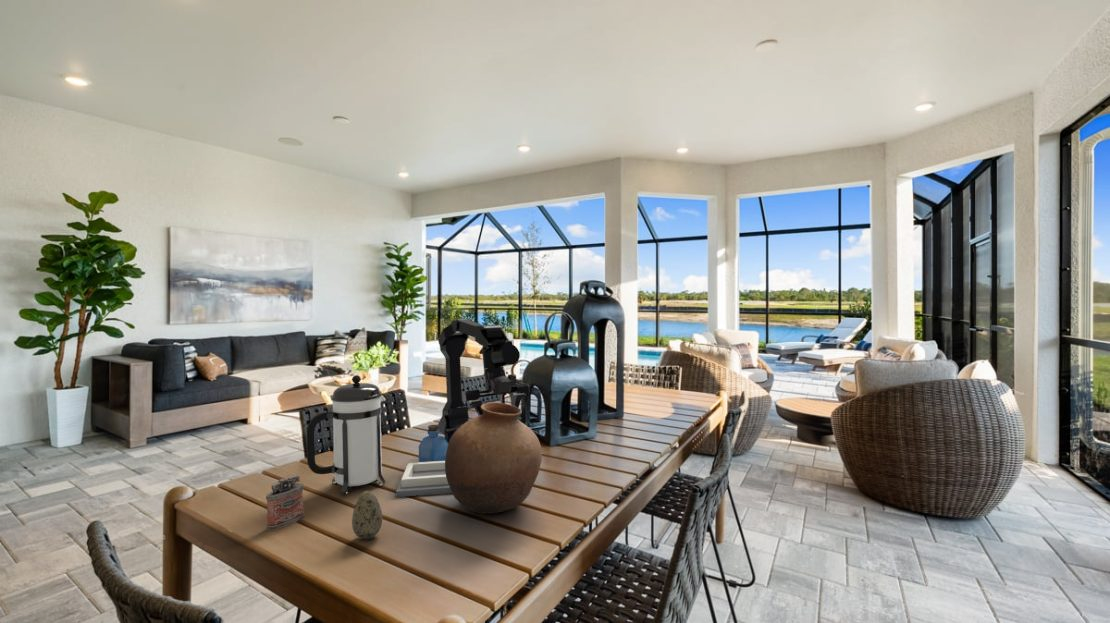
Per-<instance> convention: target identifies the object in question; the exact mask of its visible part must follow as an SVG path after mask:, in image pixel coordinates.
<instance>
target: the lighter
mask: <svg viewBox="0 0 1110 623" xmlns="http://www.w3.org/2000/svg"><path fill="white" fill-rule="evenodd" d="M300 481H301V478H300V475H298V474H297V475H293V476H290V477H287V478H280V479H279V480H278V481H277V482H274V483H271V489H272V490H271V492H269V493H267V494H266V495H265V498H266V505H267V506H266V510H267V513H266V514H267V524H266V530H268V531H275V530H279V529H281V528H284V527H287V526H290V525H293V524H294V523H297V522H299V521H300V519H301V520H303V519H304V518H305V512H304V492H303V490H304V484H302V483H298V482H300ZM295 483H297V484H295ZM303 517H304V518H303ZM302 518H303V519H302ZM298 520H299V521H298ZM289 524H290V525H289Z"/></svg>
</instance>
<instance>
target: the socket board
mask: <svg viewBox="0 0 1110 623" xmlns="http://www.w3.org/2000/svg"><path fill="white" fill-rule="evenodd" d="M442 494H452V492H451V489H450V487H449V484H448V481H447V478H446V472H445V461H434V462H419V461H418V462H408V463H407V465H406V467H405V470H404V472H403V474H402V476H401V479H400V481H399V483H398V485H397V488H396V490H395V497H396V498H403V497H415V496H416V495H418V496H429V495H442Z"/></svg>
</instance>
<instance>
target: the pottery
mask: <svg viewBox="0 0 1110 623" xmlns="http://www.w3.org/2000/svg"><path fill="white" fill-rule="evenodd" d="M481 410H482V411H483V414H482V415H480V416H478V415H477V416H475V417H473V418H471V419H469V421H467V422H466V423H464V424H463V425H462V426H461V427H459V428H458V429H457V430H456V431H455V433H454V434H453V435H452V437H451V439H450V441H449V444H448V447H447V452H446V457H445V472H446V478H447V481H448V484H449V487H450V489H451V492H452V493H451V494H452V496H454V498H455V500H456V501H457V502H458V503H459V504H460V505H461V506H463V507H465V508H467V509H468V510H470V511H472V512H475V513H479V514H498V513H501V512H505V511H509V510H512V509H514V508H516V507H518V506H520V505H521V504H523V502H525V500H526V499H528V496H529V495H530V493H531V492H532V490H533V486H534V484H535V482H536V480H537V478H538V476H539V473H540V470H541V464H542V457H543V454H542V453H543V452H542V445H541V443H540V440H539V438H538V437H537V434H536V433H535V432H534V431H533V430H532V429H531V428H530V427H529V426H528V425H526V424H525V423H524V422H522V421H520V420H519V419H518V417H520V416H521V414H522V409H521V408H520V407H519V408H517V407H516V406H512V404H508V403H502V402H494V401H493V402H492V401H491V402H490V401H489V402H487V403H486V402H485V403H482V406H481Z"/></svg>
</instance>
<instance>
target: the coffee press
mask: <svg viewBox="0 0 1110 623" xmlns="http://www.w3.org/2000/svg"><path fill="white" fill-rule="evenodd" d="M361 380H362V378H361V376H360V375H358V374H357V375H353V376H352V379H351V381H352V382H353V383H349V384H344V385H340V386H338V387H336V389H334V391H333V393H332V395H330V400H331V402H332V409H331V411H329V412H325V411H324V412H321V413H318V414H316V415H314V416H313V417H312V418H311V419H310V421H309V423H308V424H307V428H306V433H305V434H306V437H305V438H306V440H305V441H306V447H305V448H306V462H307V465H308V468H309V469H310V471H311V472H313V473H315V474H316V475H317V474H318V475H327V474H334V477H333V479H331V483H332V484H333V482H335V481H336V482H337V484H338V485H340V486H342V487H341V491H340V492H341V495H346V492H349V493H350V490H351V489H352V487H359V486H364V485H367V484H370V483H375V484H376V485H378V486H379V487H383V485H385V484H386V479H385V478H384V477H383V474H382V472H383V471H382V470H383V469H382V468H383V466H382V464H383V463H382V459H383V458H382V426H381V425H382V418H381V414H382V405H381V403H382V402H386V397H385V396H383V395H382V393H383V392H382V391H381V390H380V388H379V387H378V386H377V385H375V384H373V383H367V382H366V383H365V382H362V383H361ZM327 419H332V429H333V432H332V434H333V437H332V438H333V463H332V464H331V465H330V466H318V465H317V464H316V456H315V454H316V453H315V451H316V450H315V449H316V447H315V431H316V430H315V429H316V427H317V425H318V424H319V423H320V422H323V421H324V420H327ZM379 479H380V480H379ZM381 483H382V484H383V485H382V486H380V484H381Z"/></svg>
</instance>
